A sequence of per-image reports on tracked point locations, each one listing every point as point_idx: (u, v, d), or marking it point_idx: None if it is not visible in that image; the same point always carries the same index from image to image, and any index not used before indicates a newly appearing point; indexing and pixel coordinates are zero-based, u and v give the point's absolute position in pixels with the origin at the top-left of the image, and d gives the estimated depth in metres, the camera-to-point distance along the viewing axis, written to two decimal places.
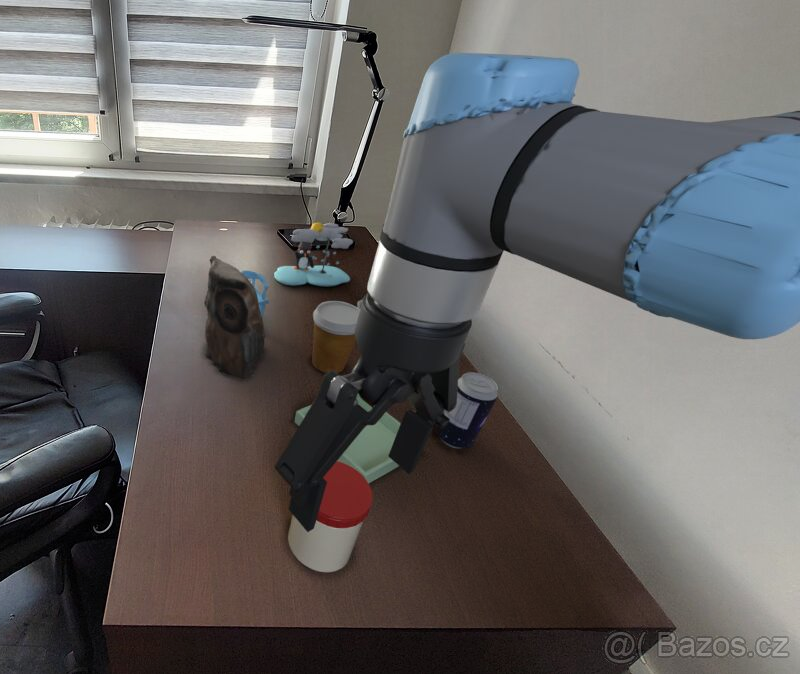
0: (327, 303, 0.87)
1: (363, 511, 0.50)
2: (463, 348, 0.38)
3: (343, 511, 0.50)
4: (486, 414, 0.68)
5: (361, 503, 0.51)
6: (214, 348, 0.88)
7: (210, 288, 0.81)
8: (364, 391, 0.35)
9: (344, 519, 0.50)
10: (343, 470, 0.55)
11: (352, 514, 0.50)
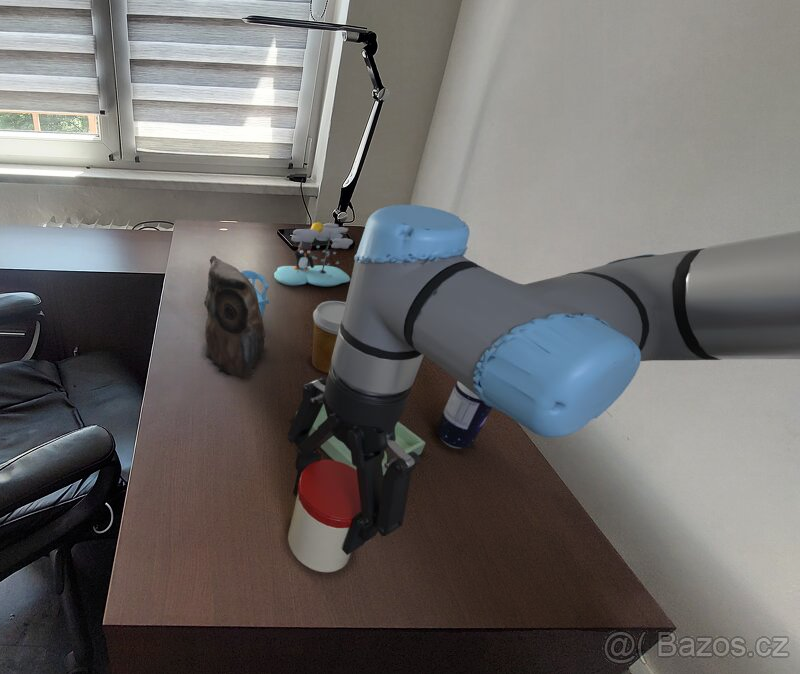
0: (327, 303, 0.87)
1: None
2: (400, 473, 0.42)
3: (343, 511, 0.50)
4: (486, 414, 0.68)
5: None
6: (214, 348, 0.88)
7: (210, 288, 0.81)
8: None
9: (344, 519, 0.50)
10: (343, 470, 0.55)
11: (352, 514, 0.50)
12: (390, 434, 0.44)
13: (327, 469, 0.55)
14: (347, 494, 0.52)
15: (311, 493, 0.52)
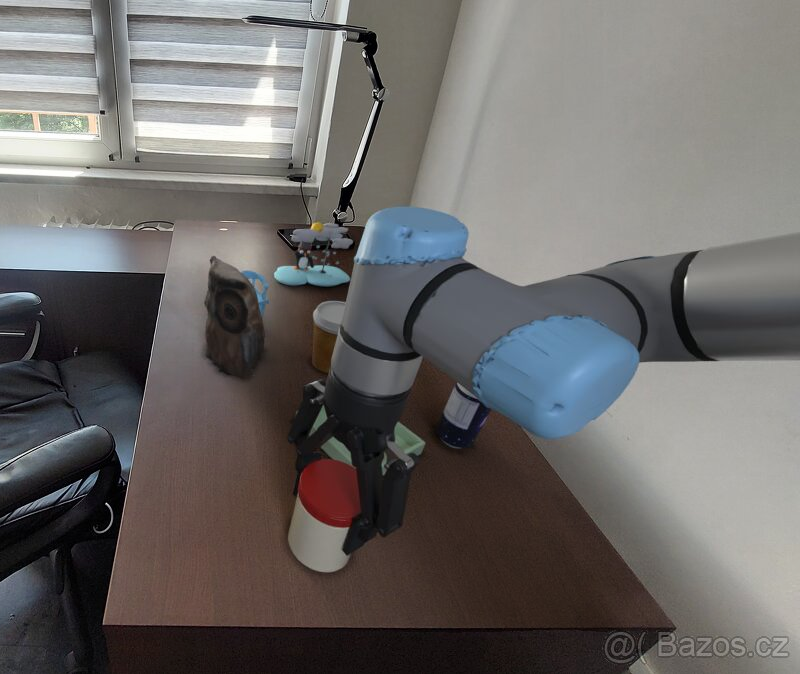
0: (327, 303, 0.87)
1: (352, 468, 0.55)
2: (400, 474, 0.42)
3: None
4: (486, 414, 0.68)
5: (344, 468, 0.55)
6: (214, 348, 0.88)
7: (210, 288, 0.81)
8: None
9: None
10: (310, 478, 0.54)
11: None
12: (389, 436, 0.44)
13: (316, 491, 0.52)
14: (339, 477, 0.54)
15: (354, 508, 0.50)
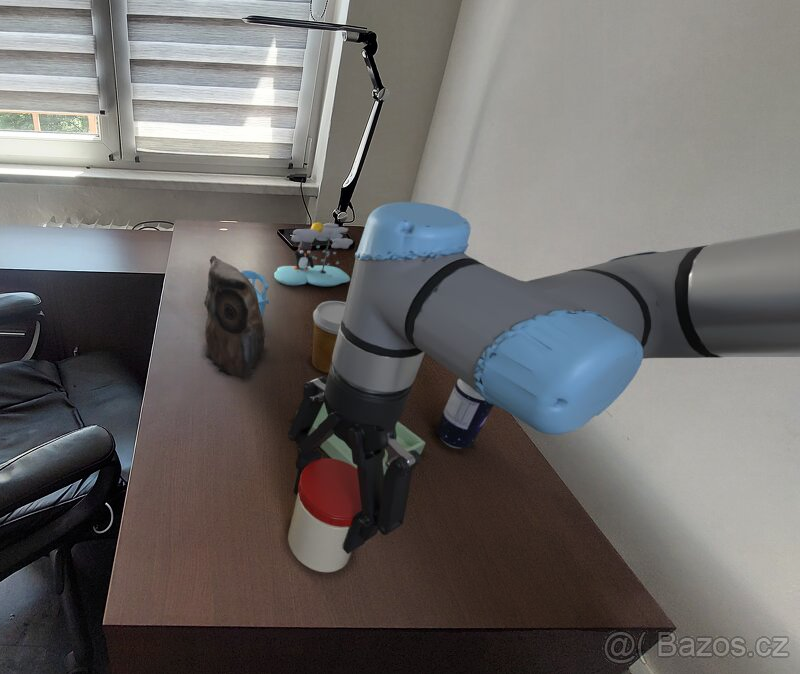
0: (327, 303, 0.87)
1: (305, 469, 0.55)
2: (401, 471, 0.42)
3: (321, 465, 0.55)
4: (486, 414, 0.68)
5: (308, 476, 0.54)
6: (214, 348, 0.88)
7: (210, 288, 0.81)
8: None
9: (317, 460, 0.56)
10: (336, 507, 0.50)
11: (313, 464, 0.55)
12: (390, 433, 0.44)
13: (351, 503, 0.51)
14: (323, 481, 0.53)
15: (353, 473, 0.54)
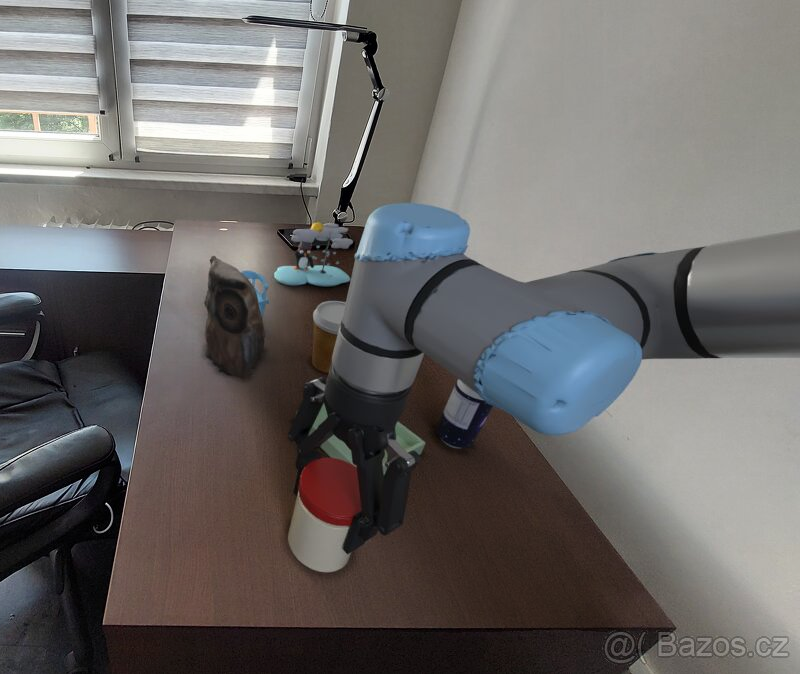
0: (327, 303, 0.87)
1: (329, 511, 0.50)
2: (401, 472, 0.42)
3: (315, 495, 0.51)
4: (486, 414, 0.68)
5: (336, 508, 0.50)
6: (214, 348, 0.88)
7: (210, 288, 0.81)
8: None
9: (308, 499, 0.51)
10: None
11: (318, 503, 0.50)
12: (390, 433, 0.44)
13: (351, 474, 0.54)
14: (336, 495, 0.51)
15: (313, 469, 0.54)
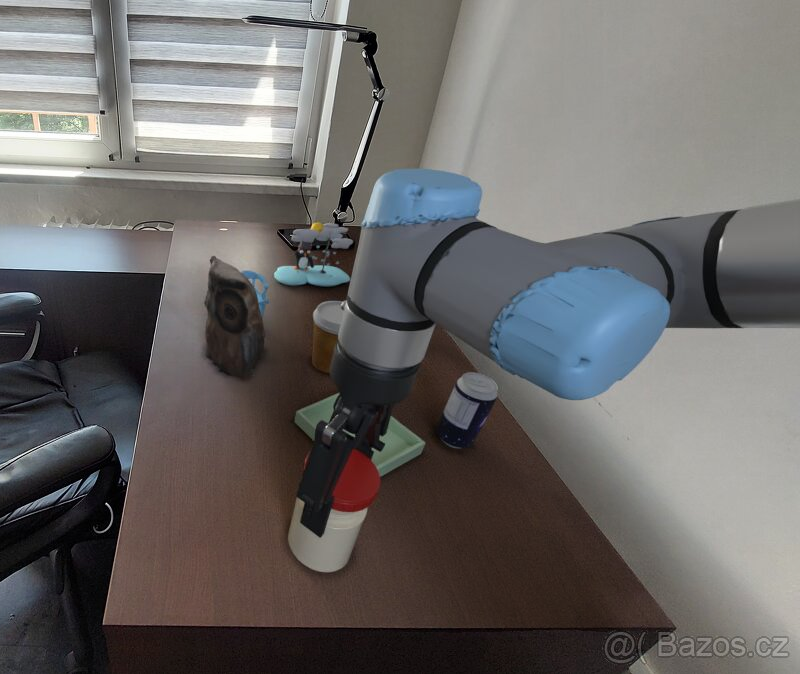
0: (327, 303, 0.87)
1: (378, 476, 0.51)
2: None
3: (368, 487, 0.49)
4: (486, 414, 0.68)
5: (370, 470, 0.51)
6: (214, 348, 0.88)
7: (210, 288, 0.81)
8: (348, 424, 0.43)
9: (375, 494, 0.49)
10: None
11: (375, 485, 0.49)
12: None
13: None
14: (354, 470, 0.51)
15: (334, 490, 0.49)
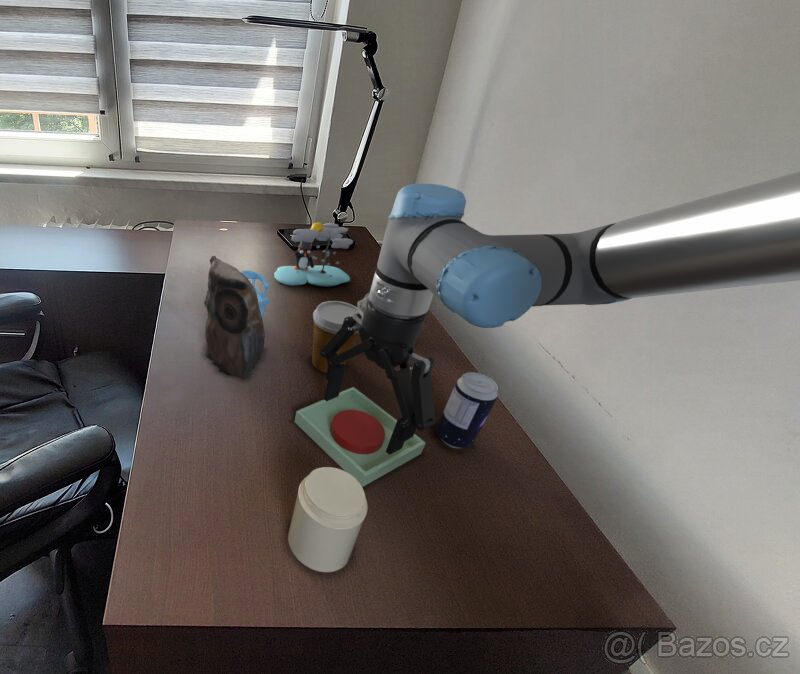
0: (327, 303, 0.87)
1: (362, 412, 0.76)
2: None
3: (372, 420, 0.75)
4: (486, 414, 0.68)
5: (357, 413, 0.76)
6: (214, 348, 0.88)
7: (210, 288, 0.81)
8: None
9: (376, 419, 0.75)
10: (340, 425, 0.73)
11: (370, 416, 0.75)
12: None
13: (348, 433, 0.72)
14: (357, 420, 0.74)
15: (376, 437, 0.71)
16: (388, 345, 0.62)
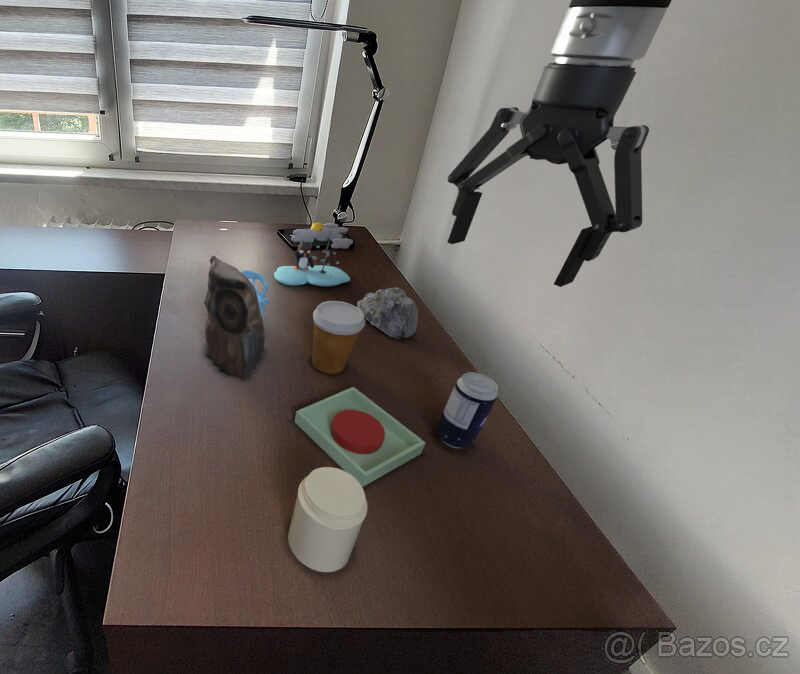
0: (327, 303, 0.87)
1: (362, 412, 0.76)
2: None
3: (372, 420, 0.75)
4: (486, 414, 0.68)
5: (357, 413, 0.76)
6: (214, 348, 0.88)
7: (210, 288, 0.81)
8: (607, 138, 0.46)
9: (376, 419, 0.75)
10: (340, 425, 0.73)
11: (370, 416, 0.75)
12: None
13: (348, 433, 0.72)
14: (357, 420, 0.74)
15: (376, 437, 0.71)
16: (574, 123, 0.47)
